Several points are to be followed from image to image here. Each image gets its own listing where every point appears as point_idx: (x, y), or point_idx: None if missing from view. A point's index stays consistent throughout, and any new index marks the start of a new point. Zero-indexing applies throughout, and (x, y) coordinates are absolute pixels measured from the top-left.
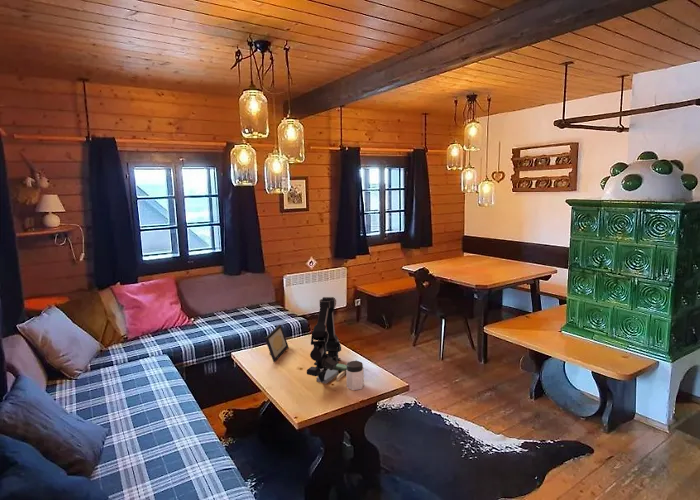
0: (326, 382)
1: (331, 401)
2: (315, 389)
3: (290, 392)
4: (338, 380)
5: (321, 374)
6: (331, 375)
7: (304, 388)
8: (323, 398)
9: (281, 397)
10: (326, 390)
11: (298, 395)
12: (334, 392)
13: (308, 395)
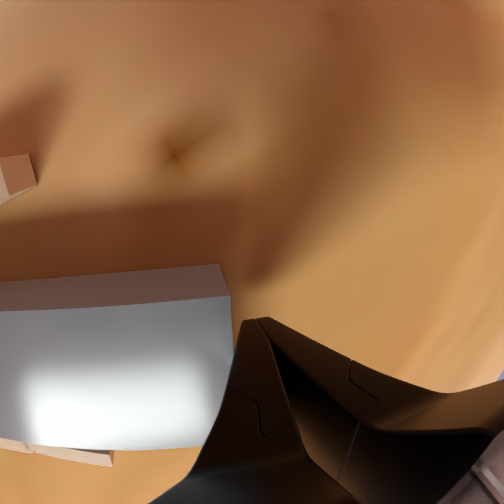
0: (207, 271)
1: (489, 12)
2: (407, 276)
3: (458, 383)
4: (19, 159)
5: (410, 404)
6: (23, 319)
7: (405, 371)
8: (496, 91)
9: (497, 365)
10: (390, 130)
11: (490, 314)
12: (382, 10)
13: (492, 250)
